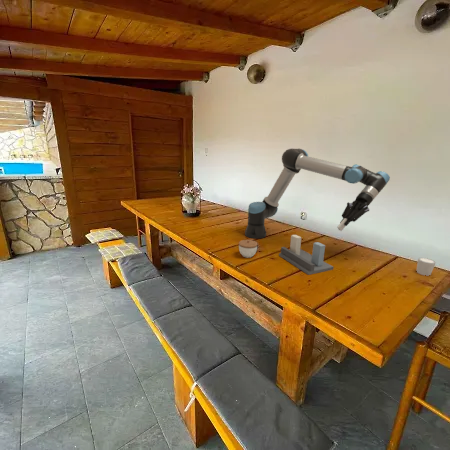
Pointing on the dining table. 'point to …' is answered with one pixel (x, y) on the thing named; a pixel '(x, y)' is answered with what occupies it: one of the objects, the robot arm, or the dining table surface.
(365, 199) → the robot arm
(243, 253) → the lidded jar
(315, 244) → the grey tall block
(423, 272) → the beige cylinder
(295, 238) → the cream key
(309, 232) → the dining table surface
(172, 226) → the dining table surface
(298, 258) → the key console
